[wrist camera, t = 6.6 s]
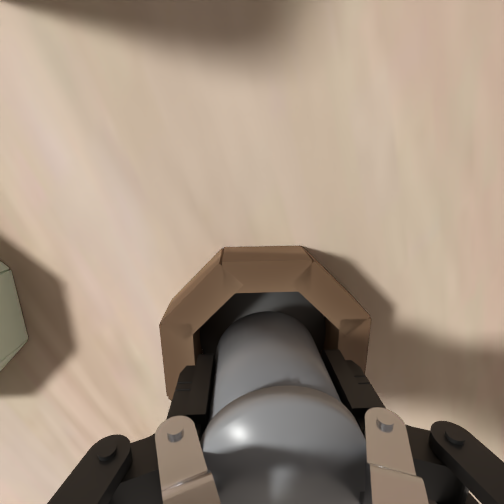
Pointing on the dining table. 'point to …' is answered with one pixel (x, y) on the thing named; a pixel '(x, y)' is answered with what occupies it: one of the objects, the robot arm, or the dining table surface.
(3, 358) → the sage ring
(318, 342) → the walnut ring
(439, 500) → the robot arm
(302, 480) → the cap
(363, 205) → the dining table surface
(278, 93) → the dining table surface
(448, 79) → the dining table surface
